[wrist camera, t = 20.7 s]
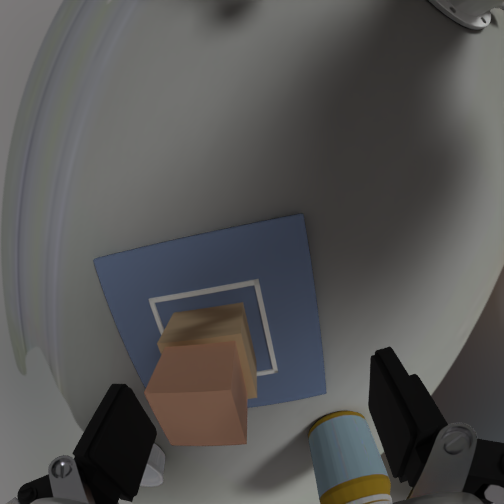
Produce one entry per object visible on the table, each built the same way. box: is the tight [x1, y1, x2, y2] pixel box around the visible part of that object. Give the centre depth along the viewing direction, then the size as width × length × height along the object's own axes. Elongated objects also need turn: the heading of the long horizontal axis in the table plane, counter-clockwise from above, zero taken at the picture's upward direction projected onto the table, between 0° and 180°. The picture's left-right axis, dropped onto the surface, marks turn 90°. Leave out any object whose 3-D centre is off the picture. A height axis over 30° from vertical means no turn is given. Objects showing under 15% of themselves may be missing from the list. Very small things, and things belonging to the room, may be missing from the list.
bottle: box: [308, 411, 392, 504], centre depth 21 cm, size 7×7×15 cm
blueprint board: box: [93, 213, 326, 408], centre depth 24 cm, size 18×18×1 cm
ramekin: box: [140, 443, 165, 487], centre depth 28 cm, size 9×9×4 cm
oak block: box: [157, 302, 257, 399], centre depth 22 cm, size 6×6×5 cm
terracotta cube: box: [144, 341, 248, 446], centre depth 17 cm, size 5×5×5 cm
